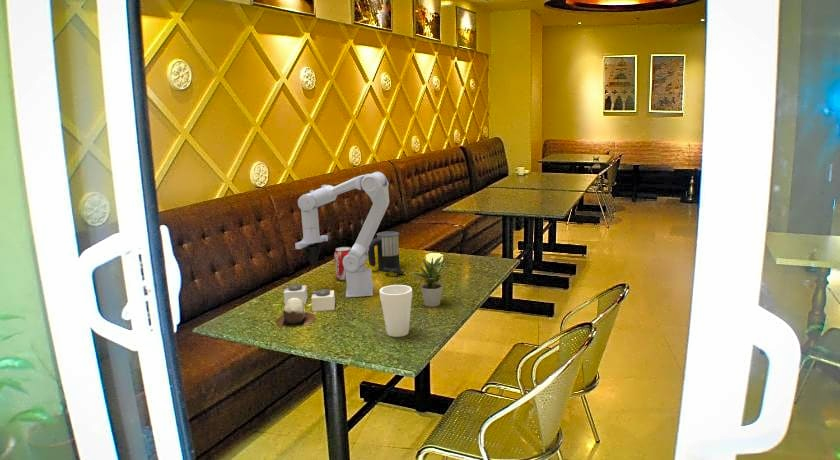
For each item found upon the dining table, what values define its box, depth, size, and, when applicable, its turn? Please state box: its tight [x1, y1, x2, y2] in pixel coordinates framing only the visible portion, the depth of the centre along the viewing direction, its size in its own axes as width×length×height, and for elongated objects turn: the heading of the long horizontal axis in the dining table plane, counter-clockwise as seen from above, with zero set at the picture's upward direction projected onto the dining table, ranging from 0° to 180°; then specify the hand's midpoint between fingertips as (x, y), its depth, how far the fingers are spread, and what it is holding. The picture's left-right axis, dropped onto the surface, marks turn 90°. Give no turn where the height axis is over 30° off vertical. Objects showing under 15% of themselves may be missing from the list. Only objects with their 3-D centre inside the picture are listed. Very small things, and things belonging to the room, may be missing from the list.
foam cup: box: [379, 284, 413, 338], centre depth 164 cm, size 10×9×13 cm
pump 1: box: [282, 283, 303, 291], centre depth 196 cm, size 6×5×4 cm
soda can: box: [333, 246, 352, 282], centre depth 220 cm, size 7×7×12 cm
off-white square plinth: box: [310, 289, 336, 312], centre depth 189 cm, size 7×7×4 cm
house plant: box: [408, 255, 450, 307], centre depth 188 cm, size 14×14×16 cm
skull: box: [275, 298, 316, 328], centre depth 178 cm, size 12×10×10 cm
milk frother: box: [367, 231, 405, 275], centre depth 228 cm, size 14×16×15 cm
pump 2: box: [309, 288, 331, 296], centre depth 189 cm, size 6×5×4 cm
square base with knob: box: [283, 284, 309, 306], centre depth 196 cm, size 7×7×4 cm
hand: (313, 264), depth 204 cm, fingers closed
